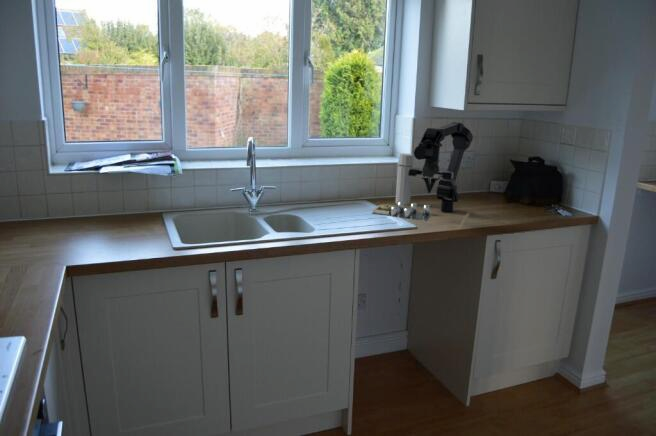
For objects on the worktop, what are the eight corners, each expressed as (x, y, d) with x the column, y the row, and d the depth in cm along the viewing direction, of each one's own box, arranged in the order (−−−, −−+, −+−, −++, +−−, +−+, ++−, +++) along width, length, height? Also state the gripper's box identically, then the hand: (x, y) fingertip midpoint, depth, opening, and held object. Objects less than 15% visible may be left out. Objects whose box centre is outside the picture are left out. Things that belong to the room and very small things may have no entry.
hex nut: (379, 212, 238) (379, 206, 238) (382, 209, 243) (383, 203, 243) (389, 213, 237) (390, 207, 236) (393, 211, 242) (393, 204, 241)
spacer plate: (379, 209, 248) (380, 199, 247) (432, 216, 239) (433, 205, 238) (371, 215, 236) (371, 205, 235) (426, 222, 227) (427, 211, 226)
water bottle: (413, 206, 256) (417, 155, 250) (399, 207, 253) (402, 155, 247) (404, 202, 264) (407, 152, 258) (390, 202, 262) (393, 153, 255)
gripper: (406, 158, 222) (404, 194, 226) (451, 162, 216) (447, 198, 220) (412, 154, 232) (410, 189, 236) (455, 158, 226) (451, 193, 230)
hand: (429, 192), depth 230 cm, fingers closed
